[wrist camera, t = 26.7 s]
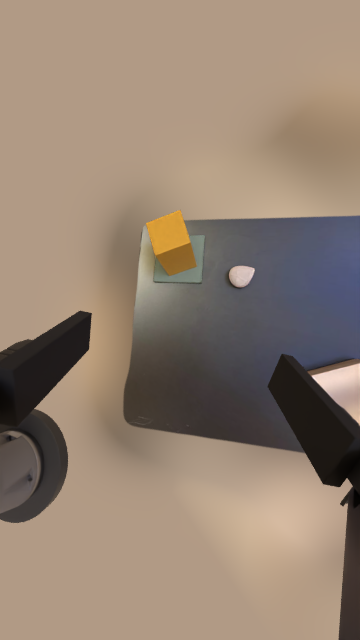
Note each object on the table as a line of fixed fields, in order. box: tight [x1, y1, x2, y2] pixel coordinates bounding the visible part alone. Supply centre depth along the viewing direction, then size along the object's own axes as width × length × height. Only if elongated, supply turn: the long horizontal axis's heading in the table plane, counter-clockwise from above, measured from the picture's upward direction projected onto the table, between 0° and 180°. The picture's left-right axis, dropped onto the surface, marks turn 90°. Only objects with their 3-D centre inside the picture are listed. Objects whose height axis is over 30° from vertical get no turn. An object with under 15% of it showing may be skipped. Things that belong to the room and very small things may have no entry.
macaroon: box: [229, 266, 255, 288], centre depth 40 cm, size 4×5×2 cm
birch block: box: [307, 359, 360, 426], centre depth 34 cm, size 9×9×4 cm
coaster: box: [154, 235, 205, 284], centre depth 44 cm, size 10×10×1 cm
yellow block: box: [146, 210, 197, 276], centre depth 38 cm, size 6×6×10 cm
